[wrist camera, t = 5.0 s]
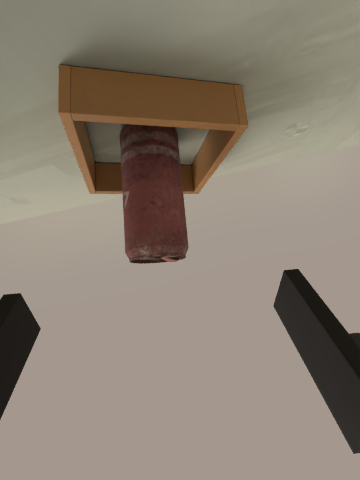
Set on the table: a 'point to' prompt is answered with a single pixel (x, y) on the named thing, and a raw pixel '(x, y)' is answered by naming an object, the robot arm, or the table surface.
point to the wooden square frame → (149, 118)
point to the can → (152, 194)
